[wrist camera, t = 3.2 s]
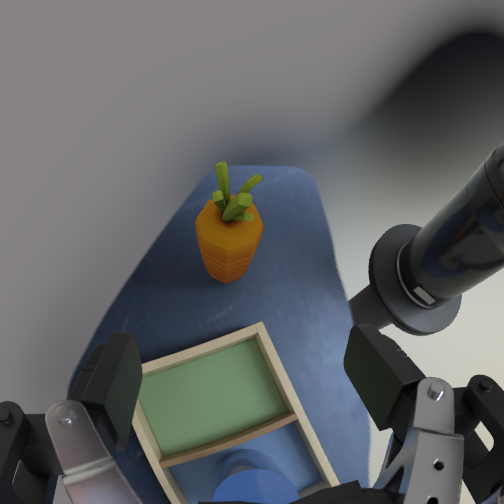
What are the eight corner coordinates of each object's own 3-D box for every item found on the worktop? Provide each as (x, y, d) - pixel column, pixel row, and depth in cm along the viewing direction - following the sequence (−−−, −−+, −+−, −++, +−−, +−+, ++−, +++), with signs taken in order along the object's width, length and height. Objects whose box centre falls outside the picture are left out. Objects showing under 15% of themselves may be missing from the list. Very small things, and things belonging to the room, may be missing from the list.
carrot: (203, 254, 30) (196, 148, 17) (250, 258, 31) (275, 154, 18) (198, 299, 28) (183, 211, 15) (248, 303, 28) (276, 218, 15)
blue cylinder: (263, 439, 22) (279, 455, 16) (289, 488, 19) (311, 514, 13) (202, 462, 20) (197, 485, 14) (229, 510, 18) (233, 543, 12)
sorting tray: (257, 328, 27) (262, 320, 25) (330, 479, 21) (342, 487, 18) (123, 374, 24) (113, 372, 21) (199, 529, 17) (197, 543, 14)
